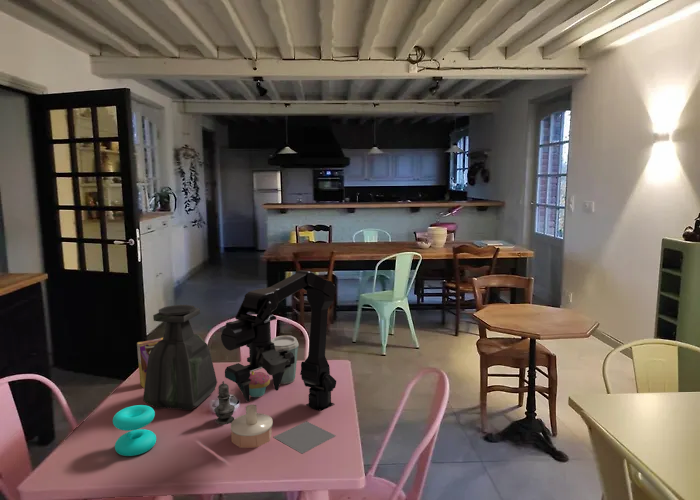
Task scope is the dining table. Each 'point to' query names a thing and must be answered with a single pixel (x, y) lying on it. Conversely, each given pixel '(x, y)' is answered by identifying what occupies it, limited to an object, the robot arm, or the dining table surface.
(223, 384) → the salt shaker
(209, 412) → the dining table surface
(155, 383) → the bottle
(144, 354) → the candy box
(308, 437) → the mat
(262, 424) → the lid
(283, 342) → the disposable coffee cup
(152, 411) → the donuts
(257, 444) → the bowl
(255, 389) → the cupcake
